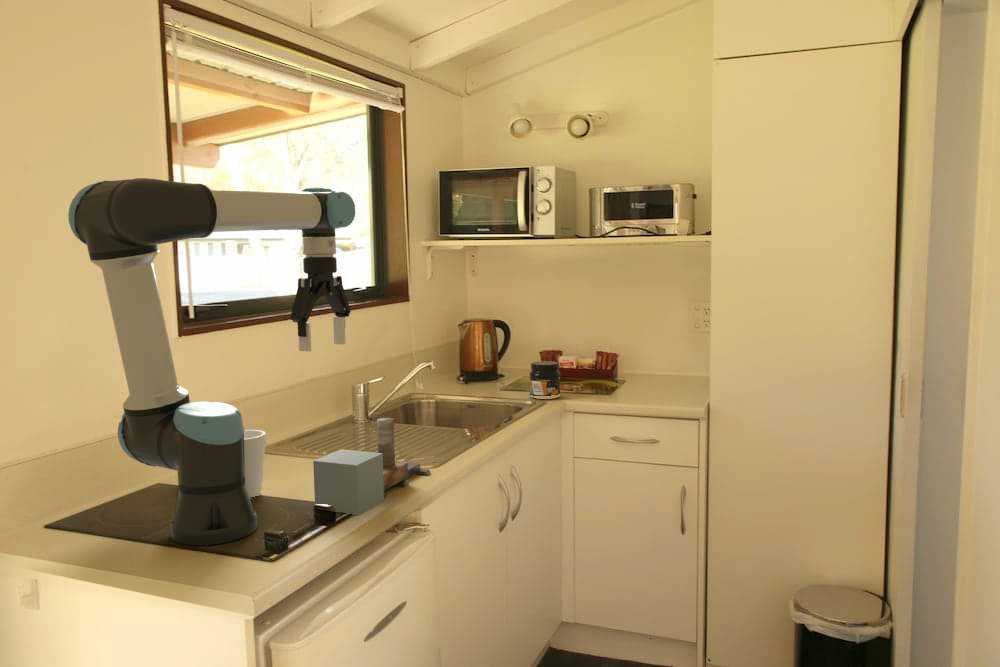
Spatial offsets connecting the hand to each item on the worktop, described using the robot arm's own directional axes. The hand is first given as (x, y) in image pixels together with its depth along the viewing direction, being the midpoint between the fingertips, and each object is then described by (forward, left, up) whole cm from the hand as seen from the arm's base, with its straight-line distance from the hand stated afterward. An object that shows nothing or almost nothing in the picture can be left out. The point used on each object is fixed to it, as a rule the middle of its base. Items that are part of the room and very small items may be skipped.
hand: (323, 347), depth 190 cm
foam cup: (-24, +4, -29) cm, 38 cm away
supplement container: (+101, -18, -29) cm, 107 cm away
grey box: (-22, -21, -29) cm, 42 cm away
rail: (-6, -21, -29) cm, 36 cm away
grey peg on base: (-11, -21, -28) cm, 36 cm away
